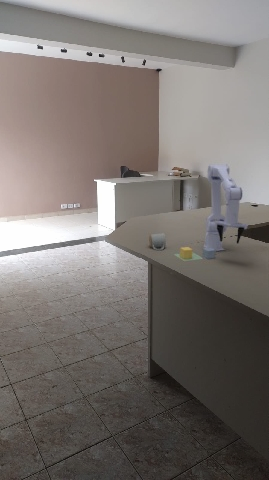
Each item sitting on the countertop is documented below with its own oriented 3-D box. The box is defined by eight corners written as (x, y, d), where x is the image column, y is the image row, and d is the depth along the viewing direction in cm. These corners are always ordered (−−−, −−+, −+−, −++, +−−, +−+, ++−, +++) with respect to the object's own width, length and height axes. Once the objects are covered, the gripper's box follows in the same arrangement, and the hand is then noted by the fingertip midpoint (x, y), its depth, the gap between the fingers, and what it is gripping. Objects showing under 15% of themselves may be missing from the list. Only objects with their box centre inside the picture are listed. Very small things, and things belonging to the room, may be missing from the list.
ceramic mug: (148, 245, 200) (148, 232, 198) (163, 245, 201) (163, 231, 199) (151, 251, 190) (152, 237, 188) (167, 251, 191) (167, 237, 189)
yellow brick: (179, 256, 181) (180, 247, 180) (187, 255, 183) (188, 246, 182) (183, 259, 177) (184, 250, 176) (192, 258, 179) (192, 249, 178)
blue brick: (202, 257, 182) (202, 248, 181) (210, 256, 184) (210, 247, 183) (206, 259, 178) (207, 251, 177) (214, 258, 180) (215, 250, 179)
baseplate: (173, 255, 185) (173, 254, 185) (192, 252, 189) (192, 252, 188) (183, 261, 175) (183, 261, 175) (203, 259, 179) (203, 258, 178)
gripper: (214, 213, 169) (212, 242, 172) (246, 216, 163) (243, 246, 167) (217, 211, 175) (215, 238, 179) (249, 213, 169) (246, 242, 173)
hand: (229, 241), depth 173 cm, fingers open, 7 cm apart
